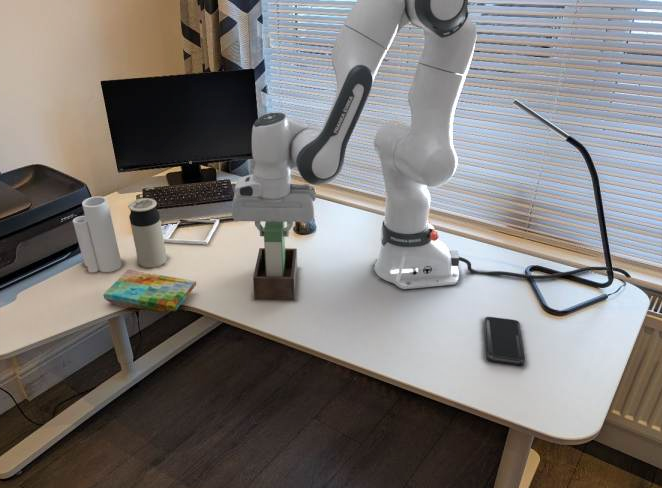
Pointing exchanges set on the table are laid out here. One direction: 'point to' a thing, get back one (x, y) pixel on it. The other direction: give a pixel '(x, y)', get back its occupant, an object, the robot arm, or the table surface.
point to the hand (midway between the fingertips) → (274, 235)
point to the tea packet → (274, 249)
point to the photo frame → (168, 231)
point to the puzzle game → (149, 291)
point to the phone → (503, 341)
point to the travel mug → (147, 232)
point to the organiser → (275, 278)
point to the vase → (97, 236)
